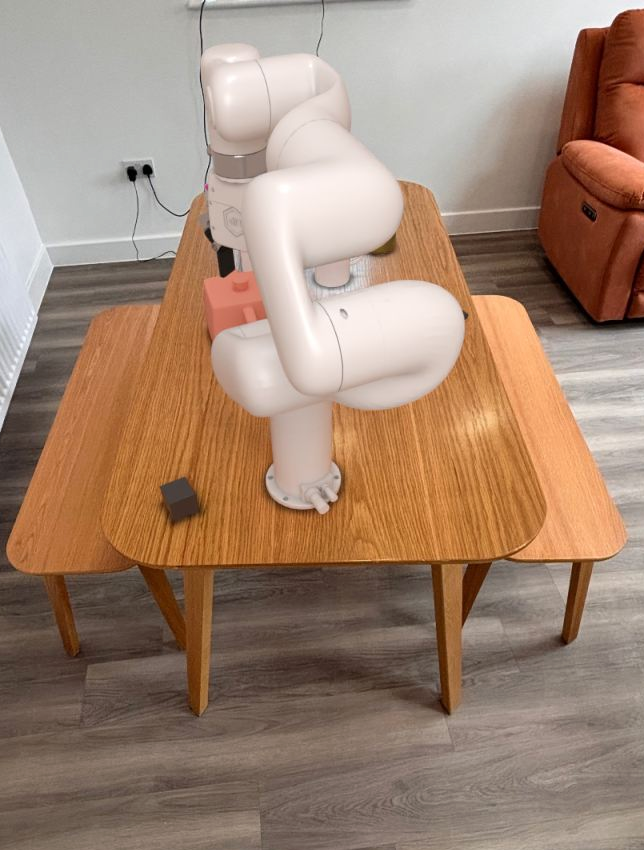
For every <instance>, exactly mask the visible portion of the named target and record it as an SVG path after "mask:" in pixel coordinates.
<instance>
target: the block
mask: <svg viewBox="0 0 644 850" xmlns="http://www.w3.org/2000/svg"><path fill="white" fill-rule="evenodd" d="M159 490H160V493H161V496H162V497H161V498H162V500H163V503H164V506H165V508H166V509H167V512H168V513H169V515H170V517H171V518H172V520H173V522H174V523H175V522H177V521H179V520H182V519H185V518H188V517H190V516H193V515H195V514H197V513H199V512H200V509H199V505H198V500H197V496H196V492H195V491H194V489H193V487H192V486H191V484H190V483H189V481H188V479H187V477H186V476H182V477H180V478H176V479H175V480H172V481H170V482H167V483H164V484H162V485H159Z"/></svg>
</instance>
